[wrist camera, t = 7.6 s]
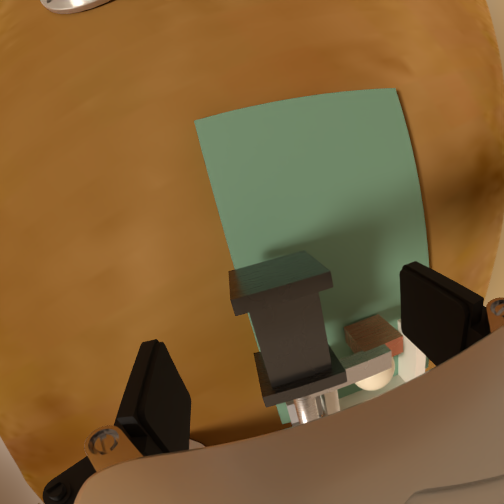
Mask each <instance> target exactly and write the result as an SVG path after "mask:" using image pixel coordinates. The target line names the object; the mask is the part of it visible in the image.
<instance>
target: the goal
mask: <svg viewBox="0 0 504 504" xmlns="http://www.w3.org/2000/svg"><path fill="white" fill-rule="evenodd" d="M397 321H398V332H400V333H401V334H402V335H403V352H402V353H400V354H398V375H396V376H394V377H392V379H391V380H390V381H389V383H388V384H387V385H385V386H384V387H382V388H380V389H378V390H373V391H369V390H364V389H363V390H361V391H358V392H356V393H353V394H350V395H348V396H345V397H342V398H340V399H338V391H337V390H334V391H331V392H328V393H326V394H323V395H320V398H321V404H322V409H323V414H322V415H323V417H324V416H327V415H329V414H332V413H335V412H338V411H340V410H343V409H346V408H348V407H351V406H353V405H356V404H358V403H361V402H363V401H366V400H368V399H370V398H373V397H375V396H377V395H380V394H382V393H384V392H386V391H388V390H391V389H393V388H395V387H397V386H399V385H401V384H403V383H405V382H407V381H409V380H411V379H413V378H415V377H417V376H419V375H421V374H423V373H425V362H426V355H425V354H423V353H422V352H421V351H420V350H419V349H418V348H417V347H416V346H415V345H414V344H413V343H412V342H411V341H410V340H409V339H408V338H407V337H406V336H405V335H404V334H403V333H402V330H401V319H399V320H397Z"/></svg>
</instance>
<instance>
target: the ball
mask: <svg viewBox="0 0 504 504" xmlns="http://www.w3.org/2000/svg"><path fill="white" fill-rule="evenodd" d="M394 371H395V362H394V359H393V357H392V368H390V369H387V370H385V371H383V372H380V373H378V374H376V375H373V376H371V377H368V378H366V379H363V380H361V381H358V382H356V383H355V384H356V385H357V386H358V387H360V388H362V389H364V390H369V391H373V390H378V389H380V388H382V387H384V386H385V385H387V384H388V383H389V381H390V380H391V379H392V377H393V374H394Z"/></svg>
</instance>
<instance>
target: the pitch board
mask: <svg viewBox="0 0 504 504" xmlns="http://www.w3.org/2000/svg"><path fill="white" fill-rule="evenodd" d="M194 123H195V126H196V130H197V134H198V138H199V142H200V145H201V149H202V153H203V157H204V160H205V164H206V168H207V172H208V175H209V179H210V183H211V186H212V190H213V194H214V197H215V201H216V204H217V208H218V212H219V215H220V219H221V222H222V226H223V229H224V233H225V236H226V240H227V244H228V247H229V251H230V254H231V257H232V261H233V264H234V268H235V269H239V268H242V267H246V266H250V265H253V264H257V263H260V262H264V261H267V260H271V259H275V258H278V257H282V256H285V255H289V254H292V253H296V252H299V251H303V250H305V251H306V252H307V253H309V254H310V255H311V256H312V257H314V258H315V259H316V260H317V261H319V262H320V263H321V264H322V265H324V266H325V267H326V268H327V269H329V270H330V271H331V276H332V281H333V288H330V289H326V290H323V291H320V292H319V297H320V302H321V307H322V313H323V318H324V324H325V329H326V335H327V341H328V344H329V346H330V347H331V349H332V350H333V352H334V353H335V355H336V357H337V358H338V360H339V359H341V358H344V357H347V356H350V355H352V354H355V353H354V352H353V351H352V350H351V348H350V347H349V346H348V344H347V343H346V340H345V333H344V327H345V326H348V325H351V324H353V323H356V322H359V321H362V320H364V319H367V318H370V317H372V316H375V315H377V314H379V315H380V316H381V317H382V318H383V319H385V320H386V321H387V322H388V323H389V324H390V325H392V326H393V327H394V328H395V329H396V330H397V331H398V321H397V320H399V319H401V300H400V276H399V274H400V271H401V270H402V267H403V266H404V265H406V264H409V263H411V262H414V261H417V262H419V263H421V264H423V265H425V266H427V267H429V257H428V245H427V235H426V226H425V218H424V210H423V203H422V197H421V191H420V185H419V179H418V174H417V169H416V164H415V159H414V155H413V150H412V146H411V142H410V138H409V134H408V130H407V126H406V122H405V119H404V115H403V112H402V108H401V105H400V102H399V98H398V95H397V92H396V89H395V88H386V89H369V90H356V91H346V92H336V93H328V94H320V95H313V96H306V97H299V98H293V99H287V100H281V101H276V102H271V103H266V104H261V105H256V106H251V107H247V108H242V109H238V110H234V111H229V112H225V113H221V114H217V115H214V116H210V117H206V118H203V119H199V120H195V121H194ZM248 315H249V319H250V322H251V325H252V329H253V332H254V335H255V339H256V342H257V345H258V348H259V352H261V351H260V347H259V344H258V341H257V337H256V334H255V331H254V327H253V324H252V321H251V317H250V314H249V313H248ZM393 359H394V362H395V371H394V374H393V377H394V376H396V375H398V355H395V356H393ZM428 362H429V358H428V357H427V356H426V362H425V368H427V367H428ZM361 390H363V389H362V388H360V387H358V386H357V385H356V384H355V383H353V384H351V385H348V386H345V387H342V388H340V389H337V391H338V399H340V398H342V397H345V396H348V395H350V394H353V393H356V392H358V391H361ZM315 399H316V404H317V409H318V414H319V418H321V415H322V414H323V409H322V404H321V398H320V396H317V397H315ZM276 406H277V409H278V412H279V415H280V418H281V421H282V424H285V423H289V422H291V423H292V426H296V425H299V424H300V423H299V420H298V416H297V412H296V408H295V405H294V401H293V400H291V401H288V402H284V403H281V404H277V405H276Z"/></svg>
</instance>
